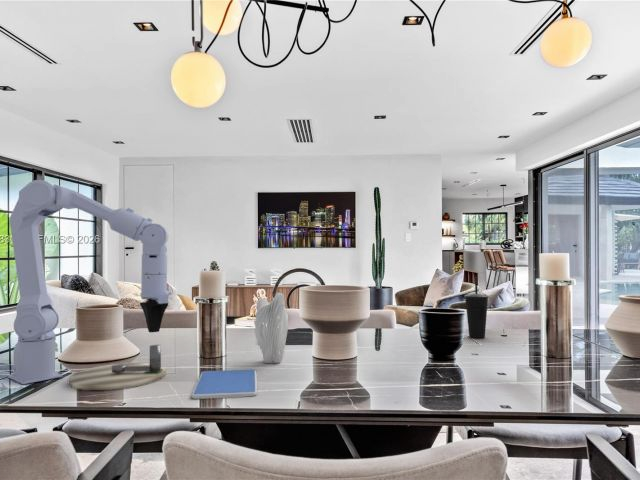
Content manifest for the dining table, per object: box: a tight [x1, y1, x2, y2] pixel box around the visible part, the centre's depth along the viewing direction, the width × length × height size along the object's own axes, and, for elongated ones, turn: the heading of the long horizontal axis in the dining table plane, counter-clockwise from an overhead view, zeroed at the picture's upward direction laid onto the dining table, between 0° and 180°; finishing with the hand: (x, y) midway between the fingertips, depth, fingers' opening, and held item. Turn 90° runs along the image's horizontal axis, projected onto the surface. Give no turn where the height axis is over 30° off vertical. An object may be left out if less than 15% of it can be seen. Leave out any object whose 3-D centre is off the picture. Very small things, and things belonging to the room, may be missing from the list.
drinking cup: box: [464, 275, 490, 340], centre depth 152 cm, size 8×8×20 cm
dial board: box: [67, 362, 167, 391], centre depth 104 cm, size 20×20×1 cm
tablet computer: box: [191, 369, 258, 400], centre depth 99 cm, size 19×13×1 cm, turn 8°
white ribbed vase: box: [254, 292, 289, 364], centre depth 119 cm, size 8×8×18 cm
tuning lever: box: [112, 344, 162, 373], centre depth 105 cm, size 11×3×6 cm, turn 93°
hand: (153, 331), depth 110 cm, fingers closed
